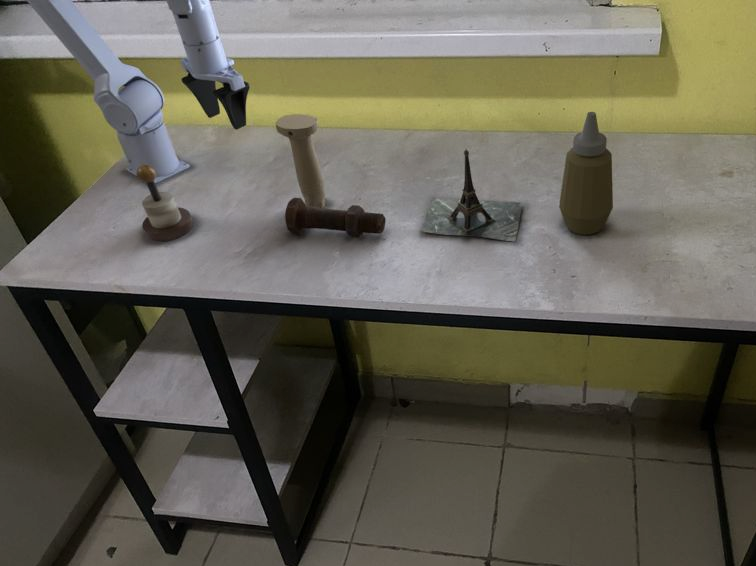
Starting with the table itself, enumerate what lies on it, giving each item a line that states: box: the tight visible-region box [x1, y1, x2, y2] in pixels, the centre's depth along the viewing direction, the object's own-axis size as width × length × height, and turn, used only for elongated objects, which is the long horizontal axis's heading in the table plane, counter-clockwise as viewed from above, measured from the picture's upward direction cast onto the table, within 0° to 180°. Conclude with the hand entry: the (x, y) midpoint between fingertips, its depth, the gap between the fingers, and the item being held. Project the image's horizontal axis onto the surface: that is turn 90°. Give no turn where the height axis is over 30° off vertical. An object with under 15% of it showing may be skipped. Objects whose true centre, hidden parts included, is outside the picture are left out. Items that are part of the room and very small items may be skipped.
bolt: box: [284, 197, 387, 239], centre depth 110 cm, size 6×5×15 cm
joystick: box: [136, 164, 194, 243], centre depth 112 cm, size 11×8×8 cm
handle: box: [274, 113, 327, 209], centre depth 113 cm, size 5×6×15 cm
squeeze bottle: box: [558, 111, 614, 236], centre depth 103 cm, size 8×8×18 cm
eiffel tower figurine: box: [419, 149, 524, 242], centre depth 107 cm, size 15×10×13 cm
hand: (227, 121), depth 120 cm, fingers open, 7 cm apart
